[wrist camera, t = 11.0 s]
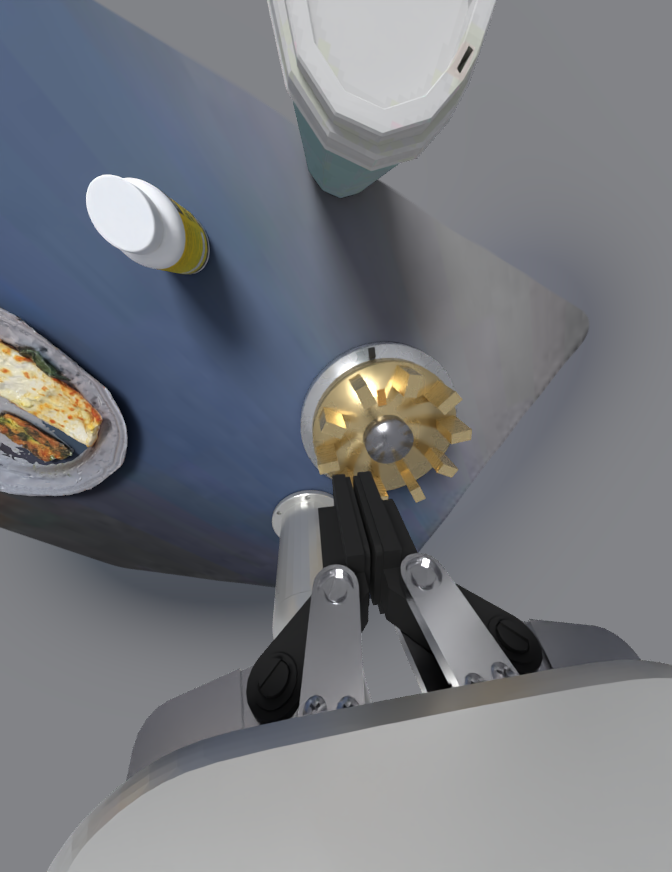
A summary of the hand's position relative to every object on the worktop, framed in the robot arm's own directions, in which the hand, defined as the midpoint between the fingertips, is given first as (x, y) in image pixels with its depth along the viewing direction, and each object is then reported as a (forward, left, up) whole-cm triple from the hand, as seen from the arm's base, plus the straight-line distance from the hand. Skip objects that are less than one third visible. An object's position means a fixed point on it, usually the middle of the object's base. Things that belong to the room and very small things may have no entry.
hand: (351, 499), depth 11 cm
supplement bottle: (+13, +13, -25) cm, 31 cm away
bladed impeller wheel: (-8, -8, -22) cm, 25 cm away
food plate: (-3, +37, -25) cm, 45 cm away
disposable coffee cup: (+20, -3, -25) cm, 32 cm away
